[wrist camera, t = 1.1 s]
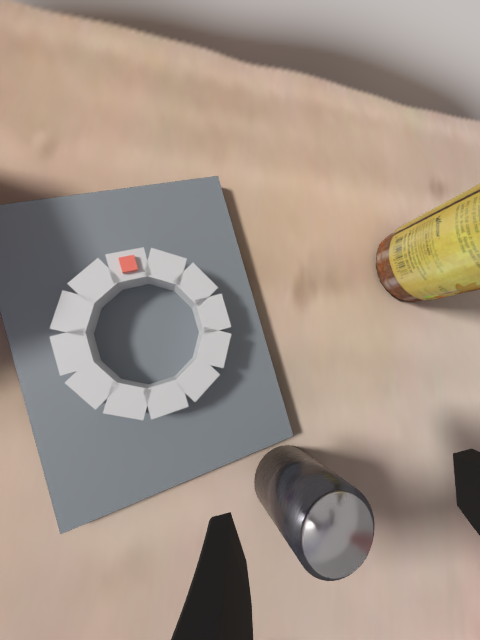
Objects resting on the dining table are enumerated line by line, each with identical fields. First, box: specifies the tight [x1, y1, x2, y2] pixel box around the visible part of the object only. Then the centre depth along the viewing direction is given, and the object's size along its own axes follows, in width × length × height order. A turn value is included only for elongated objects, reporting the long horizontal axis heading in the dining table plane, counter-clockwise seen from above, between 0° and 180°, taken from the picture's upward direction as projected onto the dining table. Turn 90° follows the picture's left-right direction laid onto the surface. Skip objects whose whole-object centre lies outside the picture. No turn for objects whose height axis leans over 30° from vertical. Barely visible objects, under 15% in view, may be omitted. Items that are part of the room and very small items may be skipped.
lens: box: [255, 445, 374, 581], centre depth 17 cm, size 4×4×6 cm
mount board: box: [0, 176, 293, 534], centre depth 17 cm, size 18×14×4 cm
